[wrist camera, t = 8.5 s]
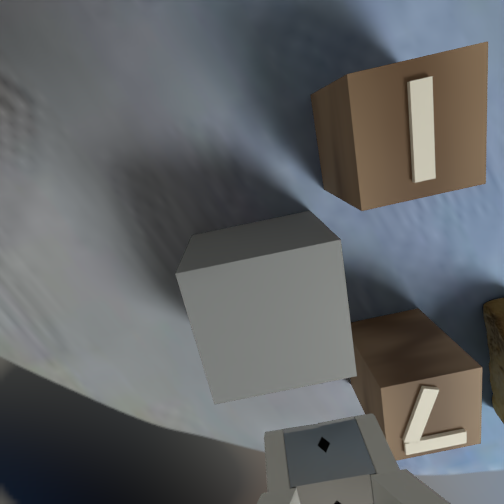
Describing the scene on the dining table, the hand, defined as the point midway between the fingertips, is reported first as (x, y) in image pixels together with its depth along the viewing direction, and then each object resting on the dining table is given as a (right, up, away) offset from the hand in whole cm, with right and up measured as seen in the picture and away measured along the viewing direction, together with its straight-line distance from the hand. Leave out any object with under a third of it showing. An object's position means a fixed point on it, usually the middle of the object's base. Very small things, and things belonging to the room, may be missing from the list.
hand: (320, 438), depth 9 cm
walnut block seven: (+7, -1, +13) cm, 15 cm away
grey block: (-1, +4, +11) cm, 12 cm away
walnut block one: (+4, +12, +9) cm, 15 cm away
